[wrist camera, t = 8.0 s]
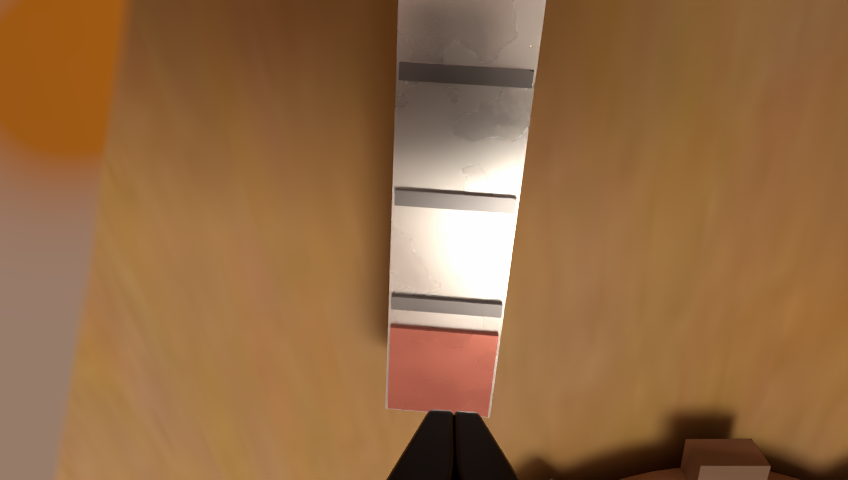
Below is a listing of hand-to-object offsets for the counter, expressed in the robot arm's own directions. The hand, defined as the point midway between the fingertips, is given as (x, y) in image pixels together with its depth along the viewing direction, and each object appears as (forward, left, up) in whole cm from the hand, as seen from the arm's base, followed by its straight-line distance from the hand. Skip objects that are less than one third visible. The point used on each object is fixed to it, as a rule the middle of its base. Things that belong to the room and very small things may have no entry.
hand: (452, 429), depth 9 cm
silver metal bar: (0, -1, -13) cm, 13 cm away
